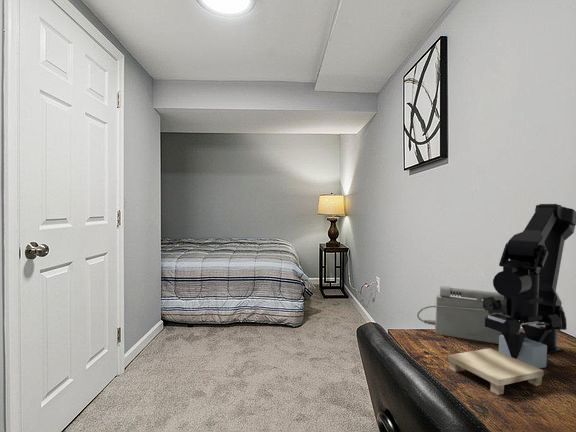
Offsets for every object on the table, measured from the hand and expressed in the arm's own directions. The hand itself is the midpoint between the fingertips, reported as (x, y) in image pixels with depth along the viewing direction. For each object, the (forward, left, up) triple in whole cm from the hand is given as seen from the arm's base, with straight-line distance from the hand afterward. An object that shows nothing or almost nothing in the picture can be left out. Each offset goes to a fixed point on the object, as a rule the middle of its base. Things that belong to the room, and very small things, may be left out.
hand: (521, 356), depth 81 cm
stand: (+14, +4, -1) cm, 14 cm away
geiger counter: (0, -16, -1) cm, 16 cm away
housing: (0, 0, -1) cm, 1 cm away
